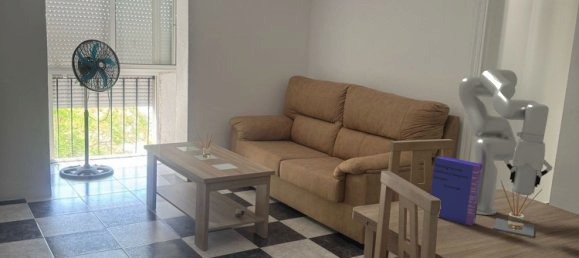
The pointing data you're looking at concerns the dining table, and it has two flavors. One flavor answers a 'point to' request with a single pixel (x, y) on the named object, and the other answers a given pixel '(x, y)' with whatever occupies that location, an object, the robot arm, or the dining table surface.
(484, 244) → the dining table surface
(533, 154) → the robot arm
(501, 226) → the mat
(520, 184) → the can
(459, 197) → the cereal box
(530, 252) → the dining table surface
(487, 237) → the dining table surface
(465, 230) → the dining table surface
